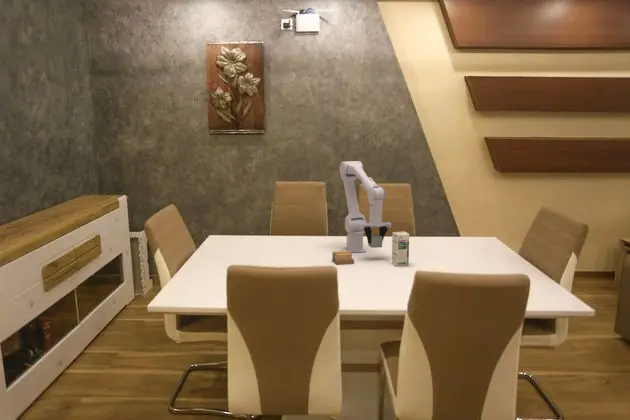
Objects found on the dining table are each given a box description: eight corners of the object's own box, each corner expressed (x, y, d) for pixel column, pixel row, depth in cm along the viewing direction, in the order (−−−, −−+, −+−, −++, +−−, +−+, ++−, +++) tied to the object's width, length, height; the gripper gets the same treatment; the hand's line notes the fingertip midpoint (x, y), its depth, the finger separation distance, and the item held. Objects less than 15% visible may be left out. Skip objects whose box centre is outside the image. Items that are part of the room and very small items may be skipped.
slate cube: (368, 245, 252) (368, 234, 251) (378, 244, 253) (378, 234, 252) (371, 247, 247) (371, 237, 246) (382, 247, 248) (382, 236, 247)
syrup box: (396, 266, 239) (397, 234, 236) (391, 263, 244) (392, 231, 242) (408, 265, 240) (409, 233, 238) (403, 262, 246) (404, 230, 243)
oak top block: (332, 256, 247) (332, 251, 247) (346, 255, 249) (347, 250, 249) (336, 260, 241) (337, 254, 240) (351, 259, 242) (352, 254, 242)
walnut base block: (332, 261, 248) (332, 256, 248) (349, 260, 250) (349, 255, 250) (336, 266, 241) (336, 260, 240) (354, 265, 242) (354, 259, 242)
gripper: (363, 216, 242) (362, 245, 244) (394, 214, 245) (393, 244, 247) (358, 213, 249) (358, 242, 251) (388, 212, 252) (387, 240, 254)
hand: (375, 243), depth 250 cm, fingers closed on slate cube, 5 cm apart
